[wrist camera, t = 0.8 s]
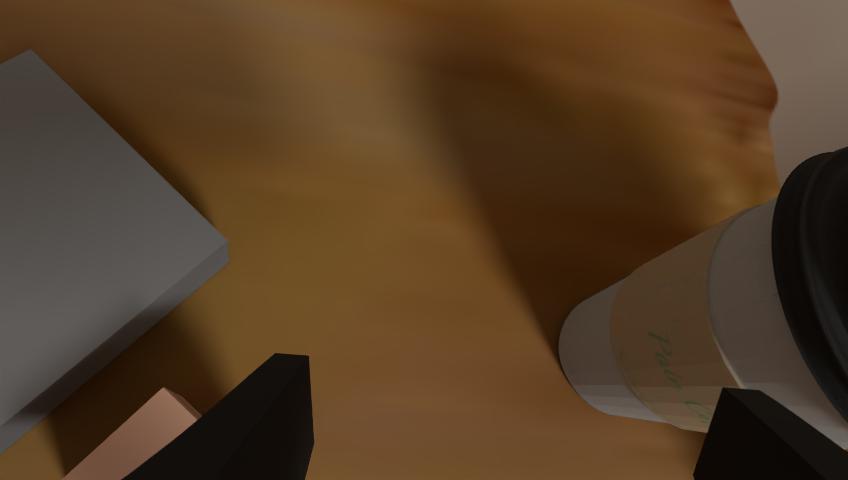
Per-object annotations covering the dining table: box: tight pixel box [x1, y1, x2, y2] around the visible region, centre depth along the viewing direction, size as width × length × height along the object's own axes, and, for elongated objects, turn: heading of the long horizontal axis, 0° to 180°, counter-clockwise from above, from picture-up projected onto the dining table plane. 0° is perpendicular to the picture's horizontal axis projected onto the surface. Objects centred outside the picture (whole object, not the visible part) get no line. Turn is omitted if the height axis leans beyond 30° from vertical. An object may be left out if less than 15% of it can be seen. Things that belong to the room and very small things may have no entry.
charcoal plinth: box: [0, 49, 229, 454], centre depth 18 cm, size 10×10×3 cm
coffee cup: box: [559, 147, 848, 449], centre depth 20 cm, size 9×9×15 cm
